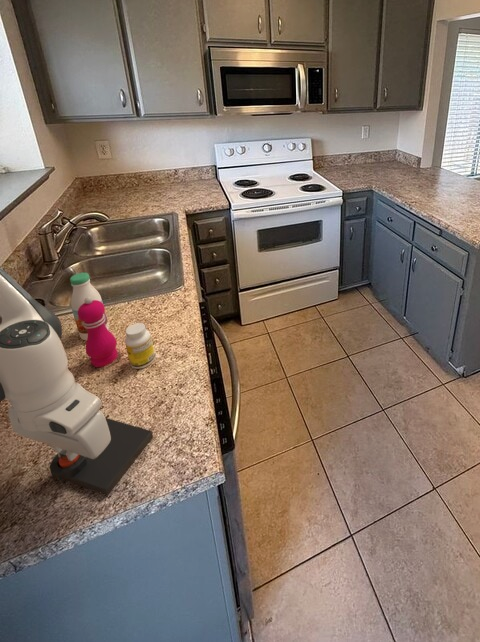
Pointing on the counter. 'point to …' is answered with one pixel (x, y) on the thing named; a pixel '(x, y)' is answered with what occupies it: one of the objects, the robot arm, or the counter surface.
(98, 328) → the pepper mill
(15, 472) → the counter surface
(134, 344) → the pill bottle
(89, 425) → the robot arm
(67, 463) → the button
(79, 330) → the milk bottle
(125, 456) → the black kitchen scale
